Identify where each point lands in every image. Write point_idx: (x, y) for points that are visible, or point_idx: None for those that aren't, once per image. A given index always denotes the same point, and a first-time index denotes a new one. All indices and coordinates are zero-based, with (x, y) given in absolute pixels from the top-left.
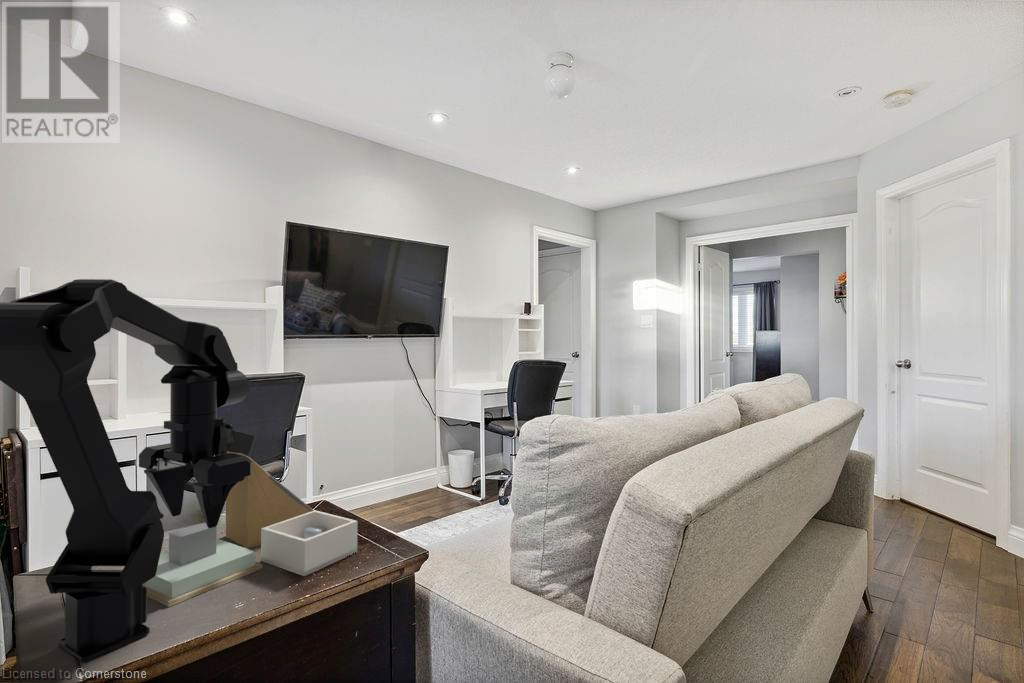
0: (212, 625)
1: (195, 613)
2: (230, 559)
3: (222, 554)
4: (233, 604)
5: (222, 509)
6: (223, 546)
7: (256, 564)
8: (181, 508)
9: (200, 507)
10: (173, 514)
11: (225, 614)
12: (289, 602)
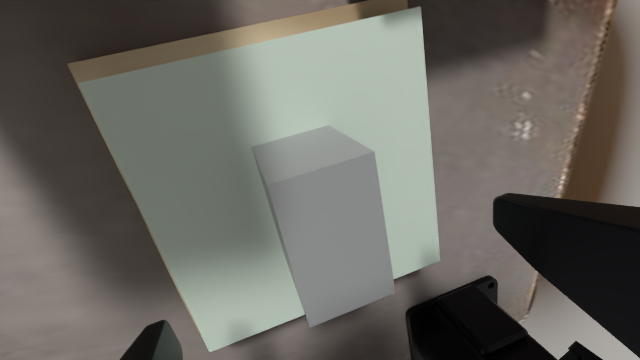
0: (544, 190)
1: (485, 205)
2: (417, 105)
3: (355, 111)
4: (513, 139)
5: (617, 205)
6: (275, 81)
7: (393, 8)
8: (155, 342)
9: (616, 337)
10: (181, 357)
11: (532, 163)
12: (600, 43)
